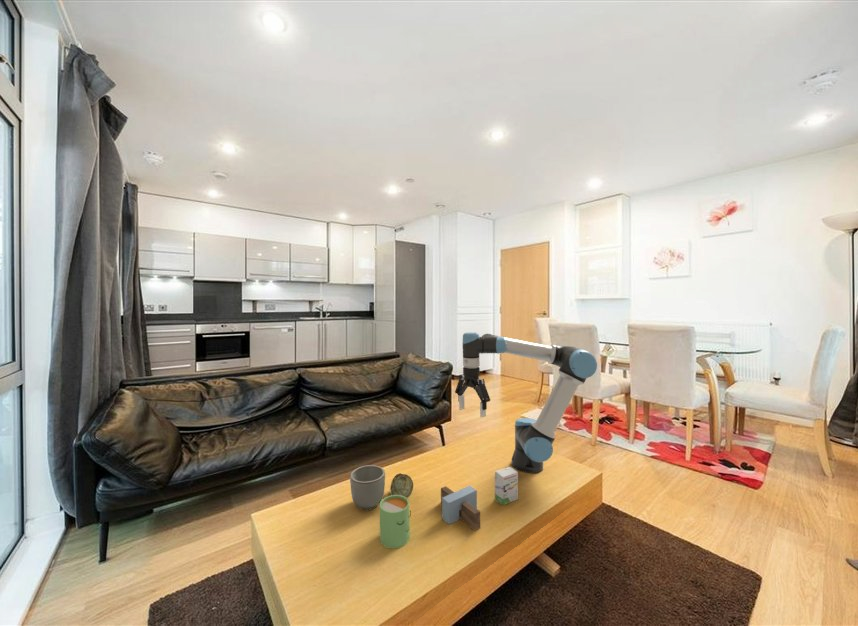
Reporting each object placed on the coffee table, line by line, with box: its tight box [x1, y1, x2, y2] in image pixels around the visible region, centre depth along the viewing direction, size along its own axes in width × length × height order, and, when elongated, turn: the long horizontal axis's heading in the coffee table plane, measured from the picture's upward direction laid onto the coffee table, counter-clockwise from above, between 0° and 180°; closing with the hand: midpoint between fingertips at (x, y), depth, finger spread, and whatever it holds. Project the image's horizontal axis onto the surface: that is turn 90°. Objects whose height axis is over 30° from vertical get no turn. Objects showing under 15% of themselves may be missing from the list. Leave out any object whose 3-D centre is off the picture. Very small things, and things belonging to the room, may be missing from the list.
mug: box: [379, 494, 412, 549], centre depth 113 cm, size 13×10×12 cm
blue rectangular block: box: [441, 485, 478, 525], centre depth 124 cm, size 14×4×8 cm, turn 125°
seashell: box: [389, 472, 414, 499], centre depth 136 cm, size 11×11×10 cm
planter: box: [349, 464, 386, 511], centre depth 131 cm, size 14×14×13 cm
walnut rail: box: [440, 485, 481, 531], centre depth 124 cm, size 2×20×6 cm, turn 35°
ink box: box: [494, 466, 519, 506], centre depth 134 cm, size 8×5×12 cm, turn 118°
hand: (472, 412), depth 149 cm, fingers open, 13 cm apart
